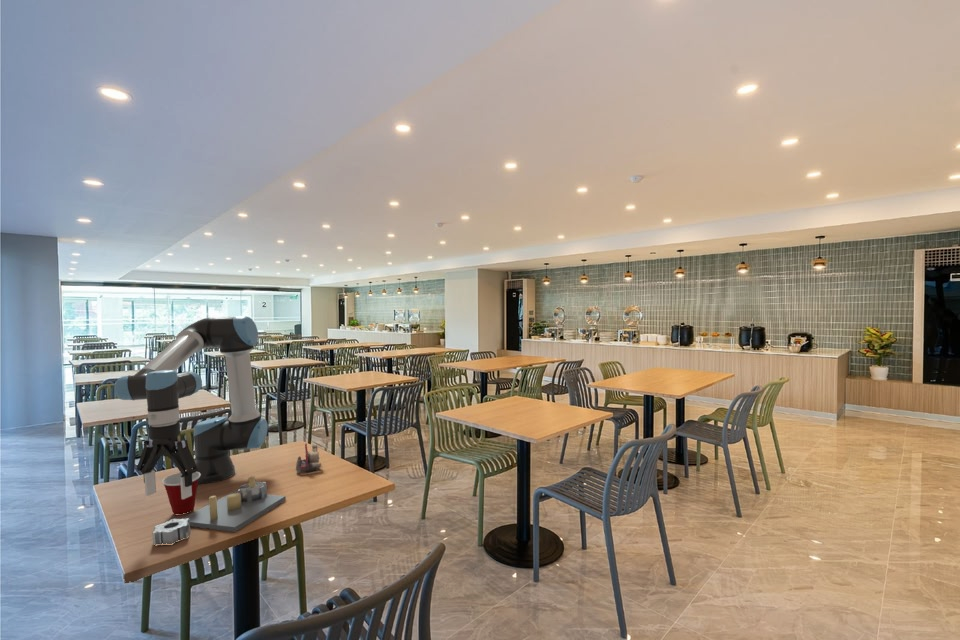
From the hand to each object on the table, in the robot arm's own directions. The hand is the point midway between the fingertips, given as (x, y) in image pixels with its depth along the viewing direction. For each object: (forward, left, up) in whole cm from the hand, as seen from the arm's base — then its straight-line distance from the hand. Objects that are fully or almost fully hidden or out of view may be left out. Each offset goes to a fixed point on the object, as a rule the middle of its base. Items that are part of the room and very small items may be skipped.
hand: (168, 495), depth 131 cm
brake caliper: (+5, +57, -13) cm, 58 cm away
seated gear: (+5, +26, -12) cm, 29 cm away
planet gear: (0, 0, -13) cm, 13 cm away
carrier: (+5, +18, -13) cm, 23 cm away
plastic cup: (-13, +15, -13) cm, 24 cm away
